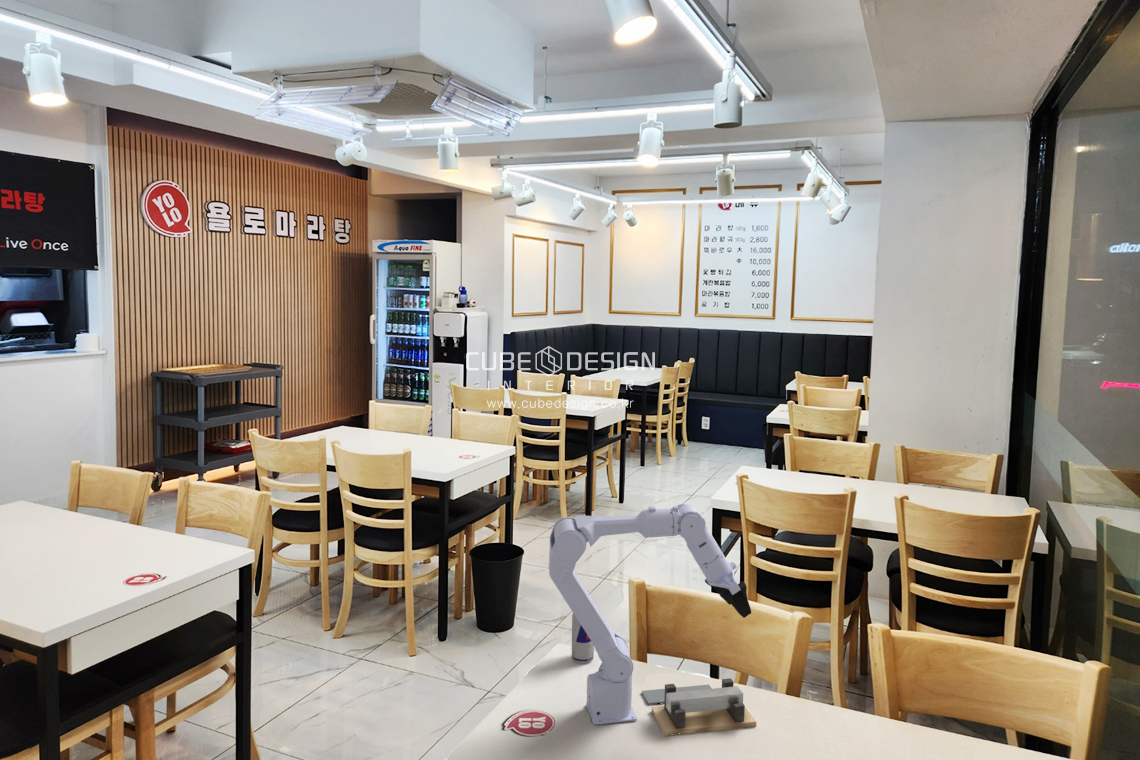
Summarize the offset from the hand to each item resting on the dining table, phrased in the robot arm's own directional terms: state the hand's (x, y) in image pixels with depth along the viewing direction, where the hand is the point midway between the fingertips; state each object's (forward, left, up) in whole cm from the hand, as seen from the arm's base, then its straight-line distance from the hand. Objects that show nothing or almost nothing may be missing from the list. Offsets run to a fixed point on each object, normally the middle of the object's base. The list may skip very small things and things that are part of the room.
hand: (739, 608), depth 160 cm
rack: (-8, -3, -23) cm, 25 cm away
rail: (-8, -3, -20) cm, 22 cm away
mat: (-10, +7, -23) cm, 26 cm away
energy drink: (-28, +27, -23) cm, 45 cm away
